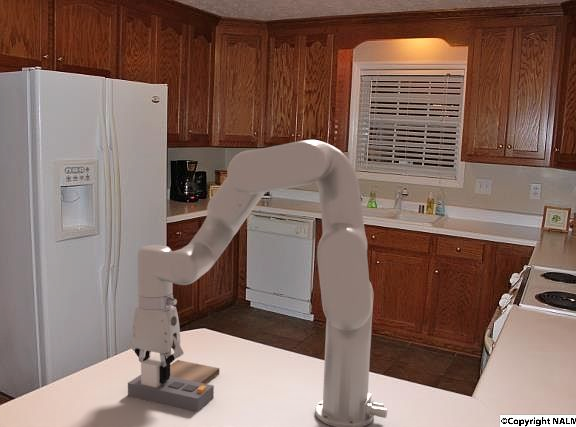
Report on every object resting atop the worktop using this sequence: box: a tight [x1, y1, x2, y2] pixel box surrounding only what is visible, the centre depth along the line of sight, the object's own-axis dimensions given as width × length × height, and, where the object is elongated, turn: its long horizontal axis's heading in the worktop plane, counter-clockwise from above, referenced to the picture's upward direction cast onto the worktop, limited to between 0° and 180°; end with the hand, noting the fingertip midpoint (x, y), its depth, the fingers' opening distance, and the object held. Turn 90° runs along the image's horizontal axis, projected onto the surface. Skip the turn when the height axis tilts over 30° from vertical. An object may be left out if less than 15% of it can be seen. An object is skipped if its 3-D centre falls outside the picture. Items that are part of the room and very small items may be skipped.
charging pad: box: [170, 359, 220, 384], centre depth 140 cm, size 12×10×2 cm
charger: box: [140, 353, 167, 387], centre depth 130 cm, size 4×6×6 cm
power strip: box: [127, 374, 215, 413], centre depth 129 cm, size 18×7×4 cm, turn 68°
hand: (155, 378), depth 130 cm, fingers closed on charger, 4 cm apart
